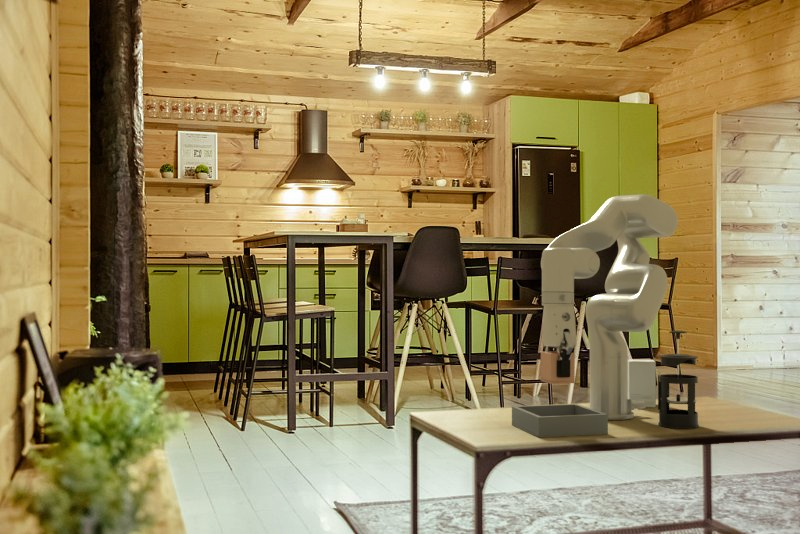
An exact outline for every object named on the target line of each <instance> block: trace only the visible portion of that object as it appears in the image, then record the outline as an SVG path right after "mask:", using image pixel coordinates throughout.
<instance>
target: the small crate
mask: <svg viewBox="0 0 800 534" xmlns="http://www.w3.org/2000/svg"><path fill="white" fill-rule="evenodd" d="M561 352H563V350H561ZM575 354H576V353H574V352H572V353H571V360H570V377H564V378H559V377H557V360H558V354H557V351H547V352H545V351H540V382H542V383H543V382H544V383H546V384H550V385H552V384H553V385H556V384H557V385H558V384H575V382H576V381H575V379H576V378H575V377H576V376H575V363H576V361H575V360H576V359H575V358H576V357H575Z"/></svg>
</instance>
